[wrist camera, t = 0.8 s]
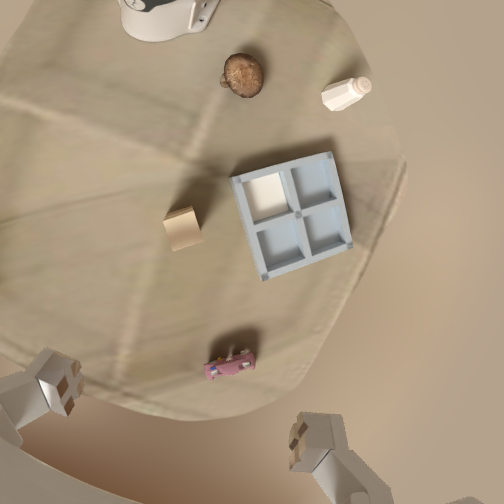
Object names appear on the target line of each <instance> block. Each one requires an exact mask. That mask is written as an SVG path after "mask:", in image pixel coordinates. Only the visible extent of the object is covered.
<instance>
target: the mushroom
mask: <svg viewBox="0 0 504 504" xmlns="http://www.w3.org/2000/svg"><path fill="white" fill-rule="evenodd" d="M220 83H221V86H222V87H224V88H226V87H230V89H231V90H232V91H233V92H234V93H235V94H237V95H239V96H241V97H243V98H252V97H254V96H255V95H257V94H258V93H259V92H260V91H261V89H262V86H263V72H262V69H261V66H260V64H259V63H258V62H257V61H256V60H255V59H254V58H253V57H251V56H250V55H247V54H242V53H238V54H233V55H231V56H230V57H229V58H228V59H227V60H226V62H225V66H224V74H223V75H222V76H221V79H220Z"/></svg>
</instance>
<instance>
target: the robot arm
mask: <svg viewBox="0 0 504 504" xmlns="http://www.w3.org/2000/svg"><path fill="white" fill-rule="evenodd" d="M219 1H220V0H118V3H119V5H120V7H121V22H122V25H123V27H124V29H125V30H126V32H127V33H128V34H130V35H131V36H133V37H135V38H137V39H139V40H143V41H151V42H157V41H165V40H169V39H172V38H175V37H177V36H180V35H182V34H185V33H195V32H201V31H204V30H205V29H206V27H207V25H208V23H209V21H210V19H211V17H212V15H213V13H214V11H215V9H216V7H217V5H218V3H219ZM200 20H204V21H203V22H201V21H200ZM80 369H81V364H80V361H78V360H76V359H74V358H71V357H69V356H67V355H64V354H62V353H60V352H58V351H55V350H53V349H51V348H48V347H46V348H44V349H43V350H42V351H41V352H40V353H39V354H38V356H37V357H36V358H35V359H34V360H33V362H32V363H31V364H30V365H29V367H28V368H27V369H26V370H25V372H23V371H20V372H17V373H15V374H12V375H9V376H6V377H3V378H0V504H142V503H139V502H136V501H133V500H129V499H126V498H123V497H120V496H118V495H115V494H112V493H109V492H107V491H104V490H101V489H99V488H97V487H94V486H92V485H89V484H87V483H84V482H82V481H80V480H78V479H75V478H73V477H71V476H69V475H67V474H65V473H63V472H60V471H59V470H57V469H55V468H53V467H51V466H49V465H47V464H45V463H43V462H41V461H40V460H38V459H36V458H34V457H32V456H31V455H29V454H27V453H25V452H24V451H22V450H20V447H21V445H22V443H23V439H22V438H21V436H20V435H19V433H18V431H17V429H19V428H21V427H22V426H24V425H26V424H28V423H29V422H31V421H33V420H35V419H36V418H38V417H40V416H42V415H43V414H45V413H47V412H48V411H50V410H52V411H55V412H57V413H59V414H61V415H64V416H66V417H68V416H69V414H70V412H71V411H72V409H73V407H74V405H75V404H74V399H77V398H79V397H80V395H81V394H82V392H83V388H84V376H83V374H82V373H81V372H80V371H79V370H80ZM289 448H290V449H291V450H292V453H291V455H290V456H289V468H290V471H293V472H308V473H312V475H313V477H314V478H315V479H316V481H317V482H318V484H319V485H320V486H321V488H322V489H323V491H324V492H325V494H326V495H327V496H328V498H329V499H330V501H331V502H332V503H333V504H394V502H393V498H392V493H391V489H390V487H389V486H388V485H386V484H385V482H384V481H383V480H382V479H381V478H379V477H378V475H377V474H376V473H375V472H374V471H373V470H372V469H371V468H370V467H369V466H367V464H365V462H364V461H363V460H362V459H361V458H360V457H359V456H358V455H357V454H356V453H355V452H354V451H353V450H349V448H348V442H347V438H346V432H345V427H344V422H343V417H342V416H341V415H340V414H326V413H311V412H300V413H299V415H298V416H297V423H295V424H293V426H292V428H291V431H290V435H289ZM447 504H483V503H482V502H481V501H479V500H478V499H476V498H474V497H465V498H462V499H459V500H457V501H454V502H450V503H447Z"/></svg>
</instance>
